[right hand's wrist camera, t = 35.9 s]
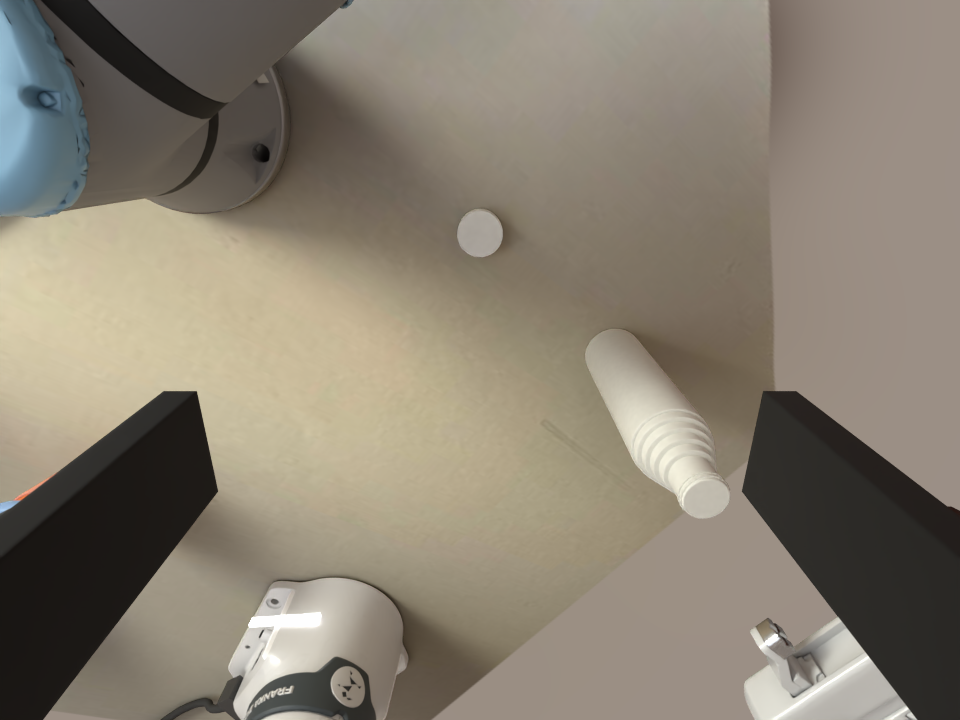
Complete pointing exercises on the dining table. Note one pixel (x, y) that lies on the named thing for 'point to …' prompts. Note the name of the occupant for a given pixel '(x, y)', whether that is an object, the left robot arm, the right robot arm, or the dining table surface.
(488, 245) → the cap
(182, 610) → the dining table surface
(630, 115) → the dining table surface
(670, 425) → the bottle
